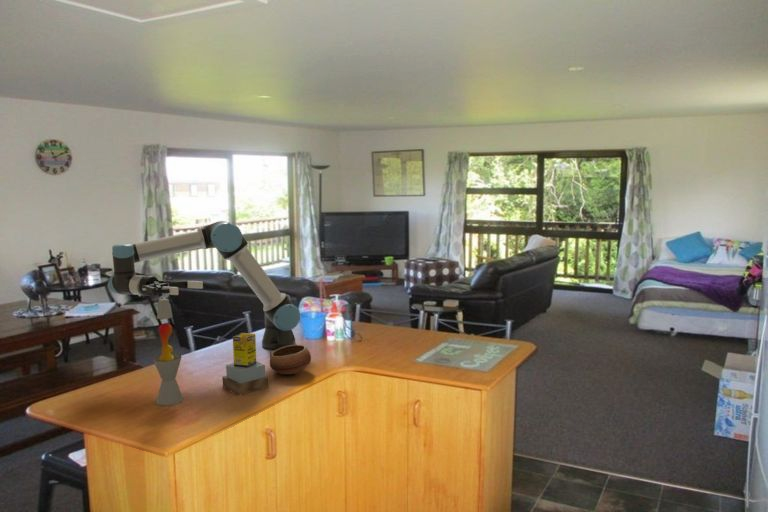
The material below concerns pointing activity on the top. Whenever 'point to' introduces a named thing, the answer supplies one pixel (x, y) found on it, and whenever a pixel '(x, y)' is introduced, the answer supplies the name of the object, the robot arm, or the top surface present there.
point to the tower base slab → (245, 385)
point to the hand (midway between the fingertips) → (190, 288)
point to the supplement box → (244, 349)
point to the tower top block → (245, 372)
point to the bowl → (290, 359)
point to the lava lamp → (167, 360)
